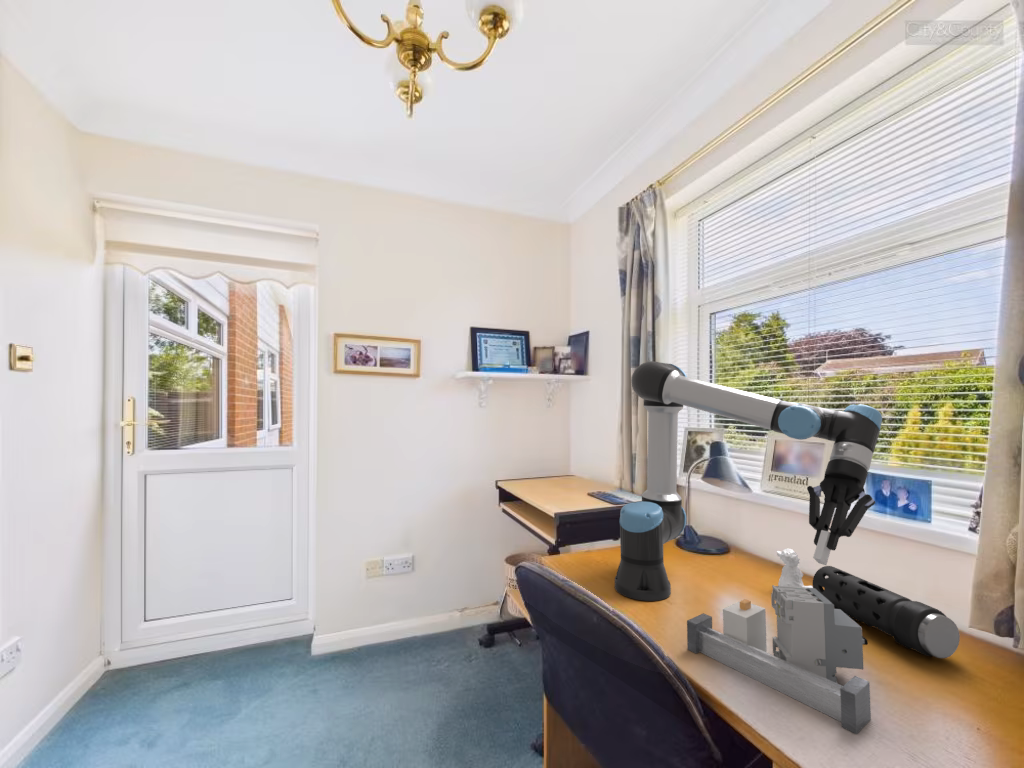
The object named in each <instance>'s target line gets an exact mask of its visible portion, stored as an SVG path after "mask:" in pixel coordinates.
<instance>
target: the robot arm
mask: <svg viewBox="0 0 1024 768" xmlns="http://www.w3.org/2000/svg"><path fill="white" fill-rule="evenodd" d="M630 381H631V382H630V383H631V387H632V390H633V391H634V393H635V395H636V396H638V397H639V398H640V399H642V400H643V408H644V409H645V410H646V411H647V412H648V420H647V421H648V423H647V424H648V426H647V427H648V428H647V472H646V473H647V474H646V476H647V478H646V481H647V482H646V490H644V491H643V493H642V494H641V501H635V502H629V503H626V504H625V505H623V506H622V507H621V508H620V513H619V514H620V516H619V537H620V538H619V539H620V547H619V548H620V560H619V564H618V568H617V572H616V575H615V577H614V589H615V591H616V592H617V593H618V594H620V595H622V596H623V597H627V598H630V599H633V600H637V601H645V602H653V601H657V602H658V601H661V600H665V599H668V598H669V597H670V596H671V594H672V591H671V589H672V588H671V582H670V580H669V577H668V573H667V570H666V567H665V564H664V561H665V560H664V545H665V544H667V543H668V542H670V541H672V540H674V539H676V538H678V537H679V536H680V535H681V534H682V533H683V532H684V530H685V528H686V526H687V514H686V511H685V509H684V507H683V506H682V504H683V503H682V502H683V501H682V500H683V499H682V496H681V495H680V494H679V493H678V491H677V486H678V485H677V484H678V483H677V481H678V479H677V475H678V473H677V472H678V430H679V429H678V427H679V425H678V421H679V418H678V417H679V413H680V412H681V411H682V410H683V408H684V406H686V407H689V408H691V409H692V408H693V409H696V410H699V411H703V412H707V413H710V414H714V415H718V416H721V417H724V418H727V419H731V420H735V421H738V422H741V423H746V424H748V425H752V426H754V427H755V426H756V427H760V428H761V429H766V430H771V431H773V432H777V433H780V434H782V435H785V436H787V437H788V438H790V439H794V440H800V441H801V440H803V441H804V440H807V439H810V438H812V437H813V438H816V439H817V438H818V439H823V440H827V441H831V442H834V443H833V446H832V450H831V453H830V456H829V461H828V463H827V465H826V468H825V471H824V477H823V479H822V481H820V483H819V485H816V486H812V485H808V486H807V487H806V489H807V492H808V494H809V502H808V503H809V504H808V505H809V508H808V509H809V511H808V523H809V526H811V527H812V528H813V529H814V530H816V532H815V535H814V539H813V544H814V545H815V546H816V547H815V549H814V554H813V556H812V558H813V559H814V560H815V562H817V563H818V564H819V565H823V566H828V565H827V564H828V560H829V559H830V554H831V551H836V549H837V546H838V544H839V539H840V538H841V537H847V538H849V537H852V535H853V534H854V532H855V530H856V529H857V528H858V525H859V524H860V522H861V520H862V519H863V517H864V516H865V515H866V513H867V511H868V510H870V508H871V507H873V506H874V505H875V504H876V501H875V499H874V498H873V497H872V496H871V495H870V494H867V493H866V491H865V488H864V487H865V485H866V481H867V478H868V475H869V471H870V467H871V464H872V459H873V455H874V452H875V449H876V445H877V443H878V440H879V436H880V433H881V427H882V423H883V416H882V413H881V412H880V411H879V410H877V409H876V407H875V408H874V407H873V406H870V405H866V404H862V403H860V404H850V405H848V406H846V407H845V409H844V410H843V411H841V410H834V409H830V408H824V407H820V406H815V405H811V404H805V403H802V402H794V401H793V402H792V401H791V402H790V401H786V400H781V399H777V398H773V397H770V396H766V395H761V394H758V393H753V392H749V391H745V390H741V389H737V388H733V387H729V386H724V385H720V384H716V383H712V382H709V381H704V380H700V379H697V378H694V377H693V378H692V377H688V376H687V374H686V372H685V371H684V370H683V369H681V368H680V367H679V366H677V365H676V364H673V363H668V362H659V361H655V360H654V361H653V360H652V361H645V362H643V363H641V364H640V365H638V366H636V368H635V369H634V370H633V372H632V375H631V379H630ZM822 493H823V495H824V497H823V500H824V501H823V502H824V503H823V506H822V509H821V499H820V497H822ZM855 501H856V502H855ZM854 502H855V503H854ZM852 503H854V506H853V507H852ZM851 507H852V508H851ZM849 511H850V512H849Z"/></svg>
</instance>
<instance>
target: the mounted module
mask: <svg viewBox="0 0 1024 768" xmlns="http://www.w3.org/2000/svg"><path fill="white" fill-rule="evenodd" d="M766 617H767V616H766V608H765V607H763V606H760V605H756V604H754V603H752V602H751V600H749V599H745V598H744V599H743V600H739V601H737V602H735V603H732V604H730V605H727V606H726V607H724V608H722V623H723V624H722V625H723V626H722V630H723V632H722V633H723V634H725V635H728V636H730V637H732V638H734V639H737V640H739V641H741V642H744V643H746V644H748V645H750V646H753V647H755V648H757V649H760V650H762V651H764V652H766V653H768V651H767V649H768V648H767V647H768V646H767V626H766V625H767V622H766V620H767V619H766Z"/></svg>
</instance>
